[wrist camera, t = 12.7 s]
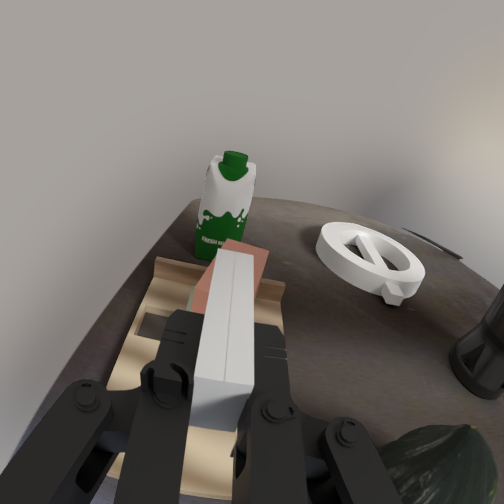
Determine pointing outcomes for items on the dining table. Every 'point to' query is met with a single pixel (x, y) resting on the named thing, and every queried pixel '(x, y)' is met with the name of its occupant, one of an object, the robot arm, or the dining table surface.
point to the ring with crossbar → (370, 261)
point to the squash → (442, 466)
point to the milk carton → (224, 203)
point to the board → (145, 349)
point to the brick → (205, 282)
